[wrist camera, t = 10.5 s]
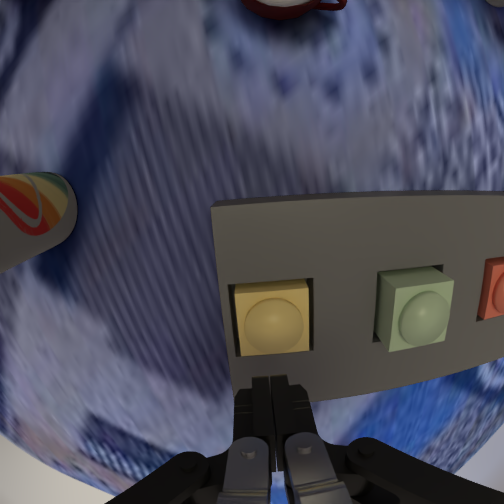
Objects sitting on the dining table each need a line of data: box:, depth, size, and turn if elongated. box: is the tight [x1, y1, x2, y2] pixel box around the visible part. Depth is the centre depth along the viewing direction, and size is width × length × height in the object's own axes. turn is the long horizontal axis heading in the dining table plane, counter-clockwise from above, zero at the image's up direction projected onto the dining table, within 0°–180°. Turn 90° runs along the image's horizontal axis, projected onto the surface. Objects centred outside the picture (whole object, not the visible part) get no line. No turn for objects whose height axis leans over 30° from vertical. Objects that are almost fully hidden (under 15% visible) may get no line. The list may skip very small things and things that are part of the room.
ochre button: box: [235, 278, 309, 356], centre depth 20 cm, size 4×4×4 cm
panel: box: [210, 190, 504, 402], centre depth 21 cm, size 24×14×4 cm, turn 94°
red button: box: [477, 256, 504, 320], centre depth 20 cm, size 4×4×4 cm
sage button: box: [373, 266, 454, 352], centre depth 18 cm, size 4×4×4 cm
